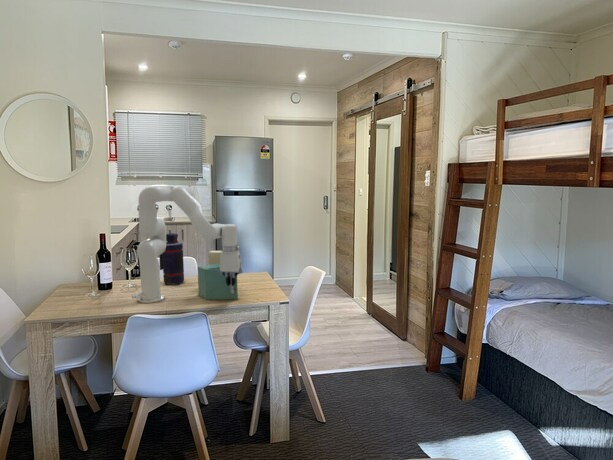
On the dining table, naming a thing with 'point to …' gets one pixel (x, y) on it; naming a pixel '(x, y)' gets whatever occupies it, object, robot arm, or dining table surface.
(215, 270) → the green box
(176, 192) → the robot arm
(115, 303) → the dining table surface
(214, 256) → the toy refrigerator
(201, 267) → the cooler
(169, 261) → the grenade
